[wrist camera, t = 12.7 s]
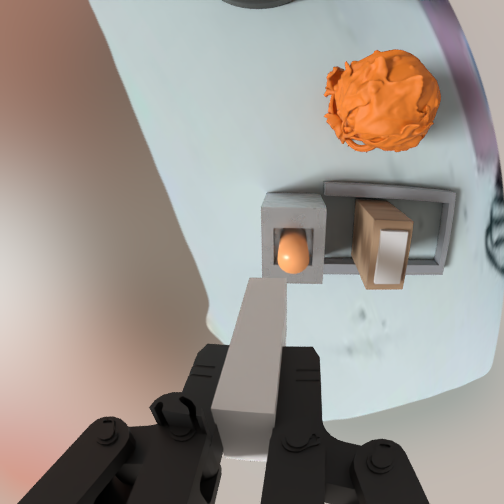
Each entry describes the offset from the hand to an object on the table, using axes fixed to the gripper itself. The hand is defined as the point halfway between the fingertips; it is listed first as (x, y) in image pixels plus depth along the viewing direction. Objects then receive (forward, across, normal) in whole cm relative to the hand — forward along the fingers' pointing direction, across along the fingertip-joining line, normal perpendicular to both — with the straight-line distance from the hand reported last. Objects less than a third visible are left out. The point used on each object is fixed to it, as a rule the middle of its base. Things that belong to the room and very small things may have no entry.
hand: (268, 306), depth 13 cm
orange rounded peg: (+23, +1, -6) cm, 24 cm away
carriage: (+29, +11, -6) cm, 31 cm away
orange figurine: (+29, +10, +10) cm, 32 cm away
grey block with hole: (+29, +1, -6) cm, 29 cm away
